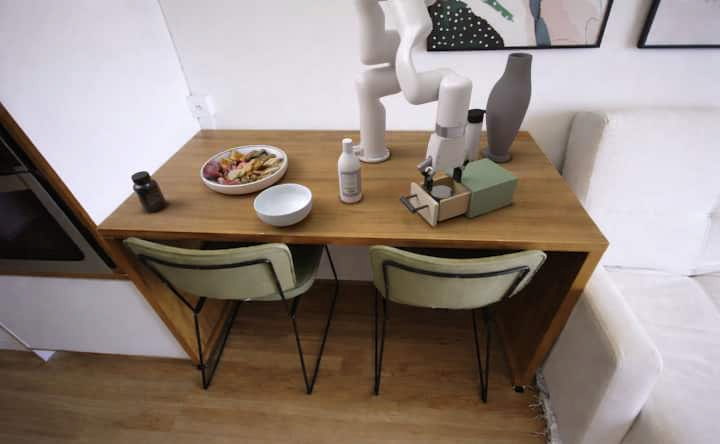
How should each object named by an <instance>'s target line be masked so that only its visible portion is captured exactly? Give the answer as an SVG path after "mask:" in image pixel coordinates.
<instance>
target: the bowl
mask: <svg viewBox="0 0 720 444" xmlns="http://www.w3.org/2000/svg"><path fill="white" fill-rule="evenodd" d="M288 165H289V163H288V157H287V154H286V153H285V152H284V151H283V150H282V149H280V148H279V147H275V146H271V145H266V144H265V145H264V144H252V145H244V146H237V147H234V148H229V149H227V150H224V151H222V152H220V153H218V154H216V155H213V156H212V157H211V158H210V159H208V160H207V161H206V162H205V163H204V164H203V165H202V166H201V169H200V176H201V179H202V181H203V183H204V184H205V185H206V186H207V187H208V188H209V189H211V190H213V191H215V192H218V193H221V194H224V195H225V194H226V195H244V194H245V195H247V194H252V193H255V192H259V191H261V190H264V189H266V188H270V187H271V186H272V185H274V184H275V183H277V182H278V181H279V180H280V179H282V177H283V176H284V175H285V173H286V171H287V169H288Z"/></svg>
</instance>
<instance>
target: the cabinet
mask: <svg viewBox="0 0 720 444" xmlns="http://www.w3.org/2000/svg"><path fill="white" fill-rule="evenodd" d="M453 170H454V168H452V169H449V170H445V171H444V175H443V176H446V175H449V176H451V177H453ZM518 182H519V176H517V175H515V174H514V173H512V172H510V171H509V170H507V169H505V168H504V167H502V166H500V165H499V164H497V163H496V162H495V161H492V160H489V159H488V158H485V157H484V158H482V159H477V160H476V161H474V162H470V163H468V164H467V166H466V167H465V170H464V171H463V172H462V178H461V183H460V184H461V185H462V186H464V187H465V188H466V189H468V190H469V191H470V192H471V193H472V195H471V200H470V205H469V210H468V212H466V213H463V215H465V216H466V217H467V218H468V219H471V218H474V217H476V216H477V217H478V216H480V215H482V214H485V213H489V212H491V211H494V210H498V209H500V208H503V207H507V206H509V205H512V204H513V203H512V202H513V200H514V196H515V193H516V190H517V185H518Z"/></svg>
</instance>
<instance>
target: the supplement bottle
mask: <svg viewBox="0 0 720 444" xmlns="http://www.w3.org/2000/svg"><path fill="white" fill-rule="evenodd" d="M130 179H131V181H132V183H133V185H132V190H133V192H134V194H135V196H136V198H137V200H138V201H139V203H140V205H141V207H142V208H143V210H144V211H145V212H147V213H157V212H159V211H162V210H163V209H164V208H166V207H167V204H168V203H167V200H166V198H165V196H164V194H163V191H162V189H161V188H160V185H159V184H158V181H157V180H156V179H154V178H152V176H151V175H150V173H149V172H148V171H146V170H143V171H137V172H135V173H133V174H132V175H131V177H130Z"/></svg>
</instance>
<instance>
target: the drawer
mask: <svg viewBox="0 0 720 444" xmlns="http://www.w3.org/2000/svg"><path fill="white" fill-rule="evenodd" d="M432 179H433V187H434V186H439V185H442V186H447V187H450V188H451V189H452V190H453V192H454V194H453V197H450V198H446V199H443V200H440V205H439V204H438V203H437V202H436V201H435V200H434V199H433V198H432V197H430V192H429V191H428V190H427V189H426V188H425V187H424V181H422V182H419V184H417V183H416V182H411V183H410V195H407V196H404V195H401V196H400V197H399V201H400V202H401V204H402V205H404V206H405V208H407V210H408V211H410V212H411V214H413V215H414V214H416V213H417V212H418V213H419V215H421V216H422V217H423V218H424V219H425V220H426V221H427V222H428V223H429V225H430V226H432V227H435V226H437V222H441V221H444V220H447V219H450V218H453V217H456V216H459V215H462V214H463V215H464V213H466V212H468V210H469V205H470V200H471V195H472V193H471V192H470V191H469V190H468V189H466V188H465V187H464V186H462V185H461V184H460V183H457V182H456V181H454V180H453V179H452V177H451V176H449V175H446V176H444V175H443V176H439V177H437V178H432ZM438 207H439V212H438Z"/></svg>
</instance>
